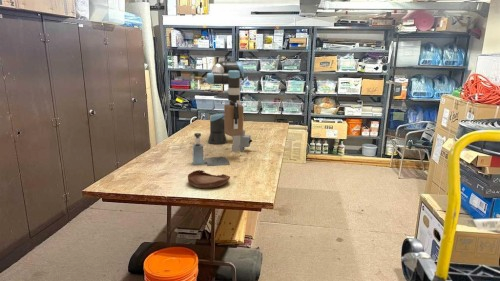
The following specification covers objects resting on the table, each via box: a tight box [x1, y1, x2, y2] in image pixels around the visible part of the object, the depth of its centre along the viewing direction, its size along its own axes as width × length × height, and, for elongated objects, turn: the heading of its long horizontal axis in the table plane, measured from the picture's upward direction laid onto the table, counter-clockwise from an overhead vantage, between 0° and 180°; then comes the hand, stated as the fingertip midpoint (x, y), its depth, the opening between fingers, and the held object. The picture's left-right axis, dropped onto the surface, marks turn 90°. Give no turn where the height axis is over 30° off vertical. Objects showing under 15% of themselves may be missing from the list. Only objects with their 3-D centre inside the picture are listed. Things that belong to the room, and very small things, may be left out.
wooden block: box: [223, 104, 244, 137], centre depth 226 cm, size 10×10×20 cm
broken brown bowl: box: [187, 169, 231, 189], centre depth 181 cm, size 22×20×5 cm
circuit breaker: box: [231, 129, 253, 153], centre depth 249 cm, size 8×14×15 cm, turn 78°
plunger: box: [194, 132, 202, 146], centre depth 214 cm, size 4×4×10 cm
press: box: [192, 143, 230, 167], centre depth 218 cm, size 14×22×12 cm, turn 106°
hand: (233, 127), depth 227 cm, fingers closed on wooden block, 11 cm apart
